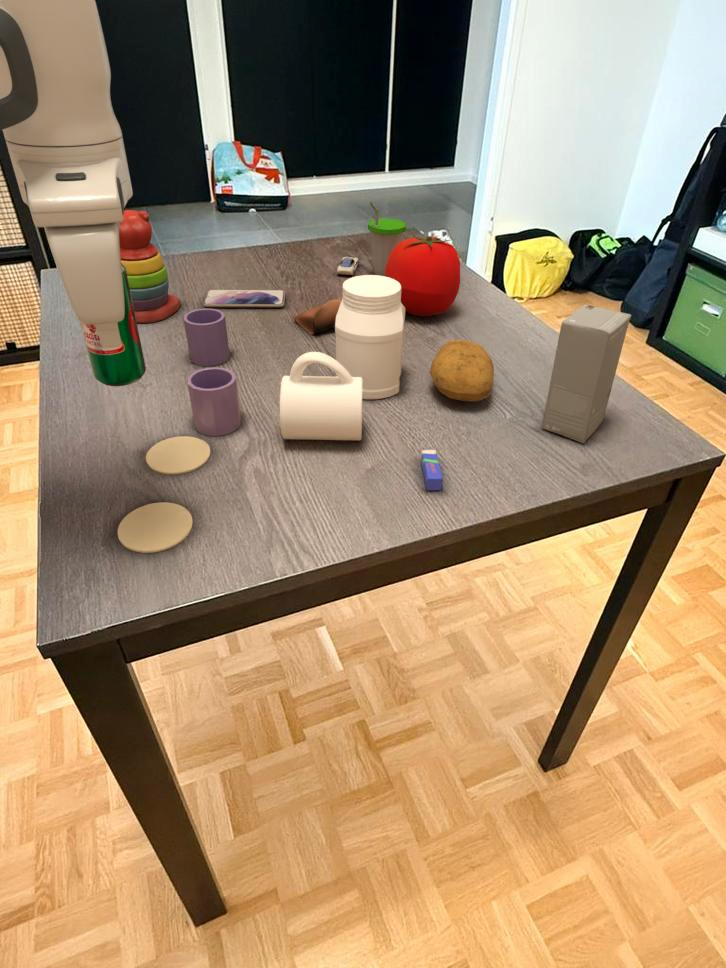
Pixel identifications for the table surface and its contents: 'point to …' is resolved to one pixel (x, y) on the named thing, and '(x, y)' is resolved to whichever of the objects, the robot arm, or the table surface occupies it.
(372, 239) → the cup
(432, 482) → the eraser
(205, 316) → the purple hollow cylinder
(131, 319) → the soda can
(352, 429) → the mug
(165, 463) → the coasters
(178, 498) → the table surface
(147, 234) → the stacking bear
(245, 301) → the smartphone
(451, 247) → the tomato
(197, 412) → the purple tumbler
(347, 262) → the toy car
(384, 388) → the jar
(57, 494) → the table surface
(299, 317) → the sunglasses case
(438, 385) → the potato
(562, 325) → the cosmetic box
